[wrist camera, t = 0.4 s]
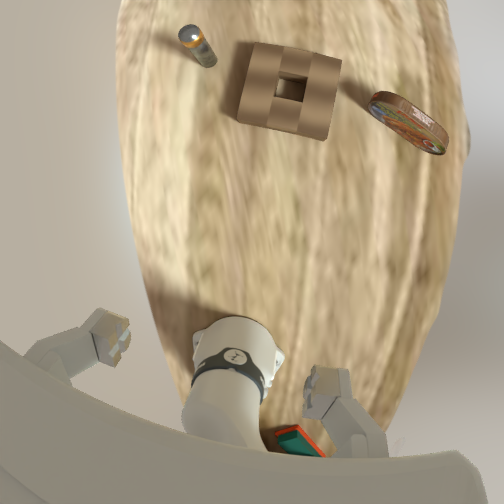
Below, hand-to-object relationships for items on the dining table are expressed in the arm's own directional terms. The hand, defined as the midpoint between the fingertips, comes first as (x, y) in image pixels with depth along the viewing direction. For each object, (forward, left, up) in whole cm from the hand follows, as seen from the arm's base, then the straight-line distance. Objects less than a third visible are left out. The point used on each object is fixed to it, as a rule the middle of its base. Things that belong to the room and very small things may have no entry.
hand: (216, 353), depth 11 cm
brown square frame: (+21, +1, -38) cm, 44 cm away
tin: (+21, -19, -38) cm, 48 cm away
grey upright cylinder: (+25, +16, -38) cm, 48 cm away
